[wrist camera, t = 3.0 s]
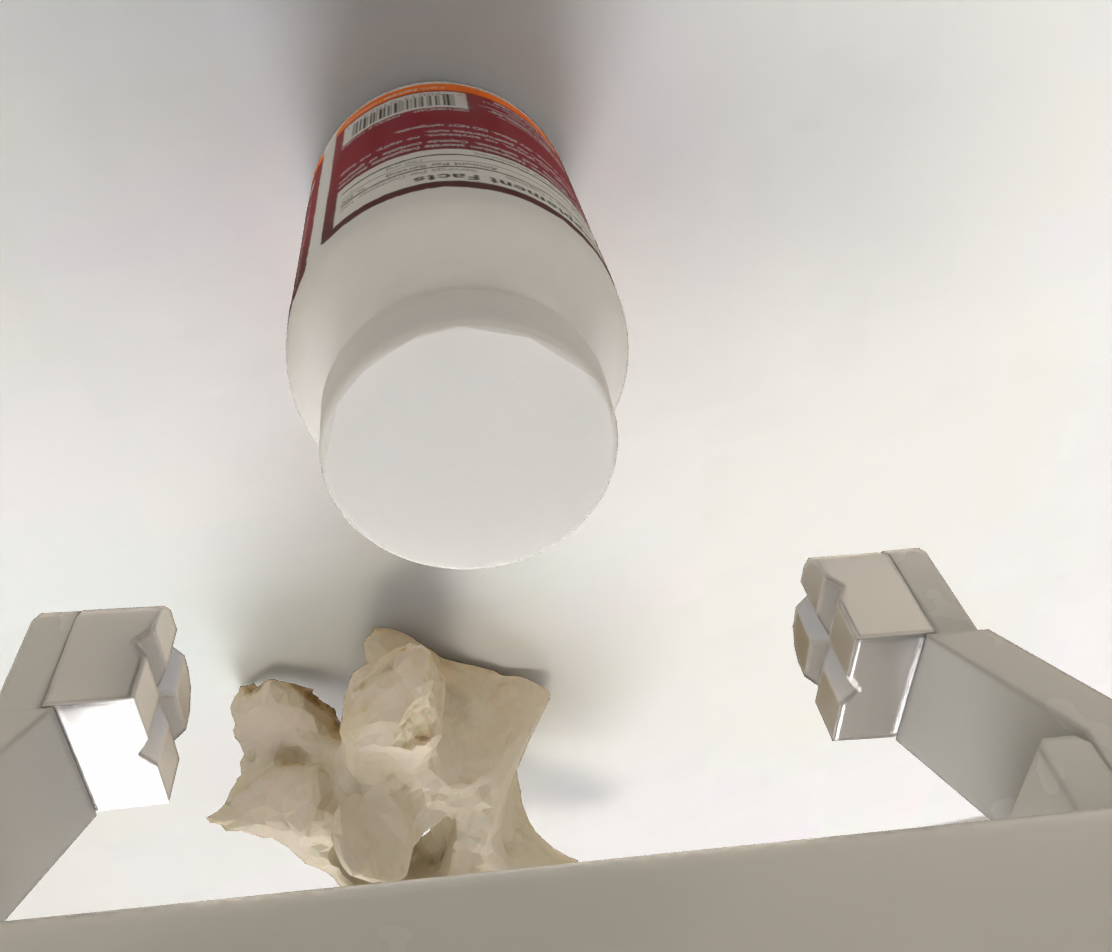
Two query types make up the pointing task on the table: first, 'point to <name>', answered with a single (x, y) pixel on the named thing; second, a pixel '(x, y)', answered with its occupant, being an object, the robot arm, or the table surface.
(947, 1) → the table surface
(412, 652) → the bone
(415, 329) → the pill bottle
